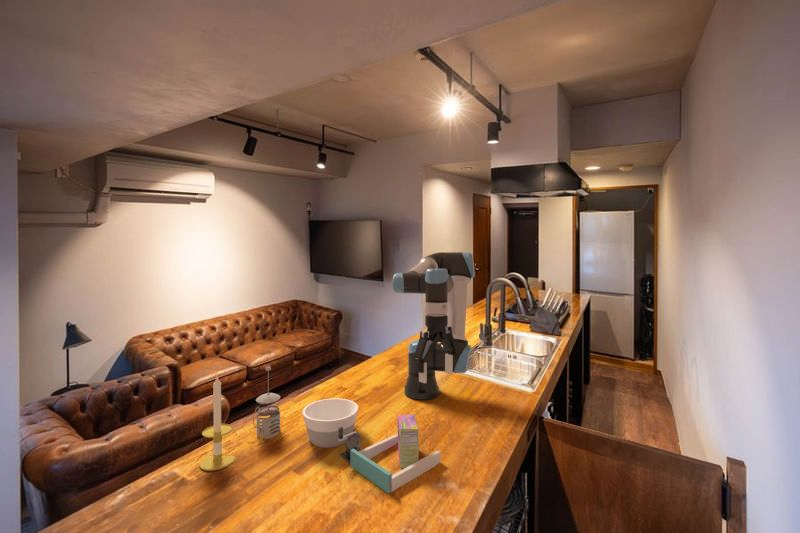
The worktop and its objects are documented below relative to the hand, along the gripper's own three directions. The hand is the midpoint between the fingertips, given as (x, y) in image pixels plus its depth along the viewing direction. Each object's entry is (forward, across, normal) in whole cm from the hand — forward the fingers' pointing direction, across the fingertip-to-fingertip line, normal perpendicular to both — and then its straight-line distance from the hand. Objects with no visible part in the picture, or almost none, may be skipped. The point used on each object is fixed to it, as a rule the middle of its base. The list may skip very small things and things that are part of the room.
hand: (436, 377), depth 121 cm
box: (+23, -13, +1) cm, 27 cm away
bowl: (+23, -23, +28) cm, 43 cm away
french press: (+23, -39, +44) cm, 63 cm away
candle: (+23, -56, +41) cm, 73 cm away
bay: (+23, -18, +1) cm, 29 cm away
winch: (+23, -24, +14) cm, 36 cm away
